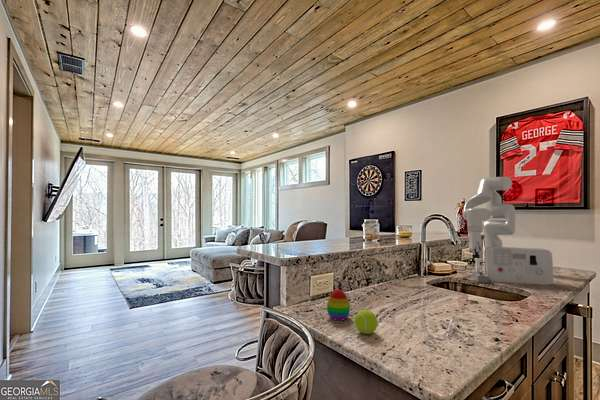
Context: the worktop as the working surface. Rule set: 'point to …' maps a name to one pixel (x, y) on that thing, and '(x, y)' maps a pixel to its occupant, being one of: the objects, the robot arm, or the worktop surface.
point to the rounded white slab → (519, 265)
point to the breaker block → (480, 276)
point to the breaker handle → (478, 265)
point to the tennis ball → (366, 321)
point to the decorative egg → (338, 305)
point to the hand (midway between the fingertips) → (476, 261)
